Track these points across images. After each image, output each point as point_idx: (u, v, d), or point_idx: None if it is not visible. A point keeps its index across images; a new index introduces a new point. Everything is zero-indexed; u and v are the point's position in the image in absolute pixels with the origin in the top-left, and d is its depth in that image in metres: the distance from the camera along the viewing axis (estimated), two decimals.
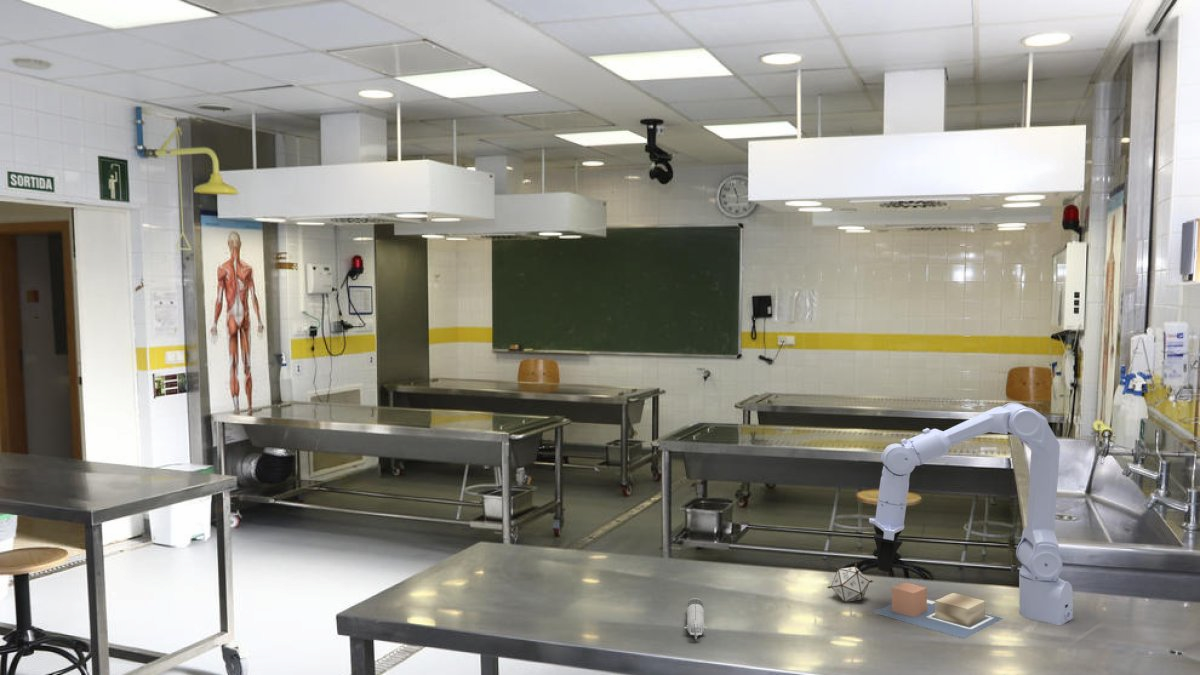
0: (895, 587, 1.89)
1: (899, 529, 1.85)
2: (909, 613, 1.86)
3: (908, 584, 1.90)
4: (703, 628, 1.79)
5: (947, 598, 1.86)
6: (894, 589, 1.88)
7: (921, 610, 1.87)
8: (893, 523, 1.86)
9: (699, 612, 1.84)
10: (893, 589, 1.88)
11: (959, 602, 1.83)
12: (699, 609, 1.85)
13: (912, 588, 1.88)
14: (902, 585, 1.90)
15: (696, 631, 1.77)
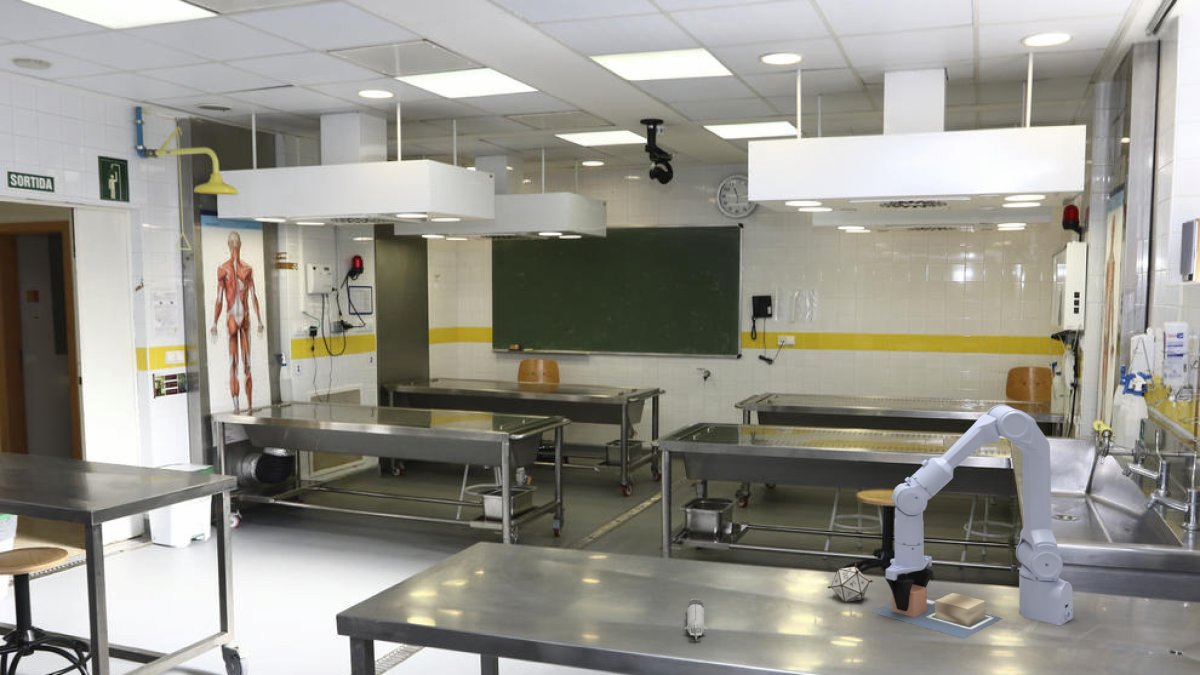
0: None
1: (909, 570, 1.84)
2: (909, 613, 1.86)
3: None
4: (703, 628, 1.79)
5: (947, 598, 1.86)
6: None
7: (921, 610, 1.87)
8: (904, 563, 1.86)
9: (699, 612, 1.84)
10: None
11: (959, 602, 1.83)
12: (699, 609, 1.85)
13: (912, 588, 1.88)
14: None
15: (696, 631, 1.77)
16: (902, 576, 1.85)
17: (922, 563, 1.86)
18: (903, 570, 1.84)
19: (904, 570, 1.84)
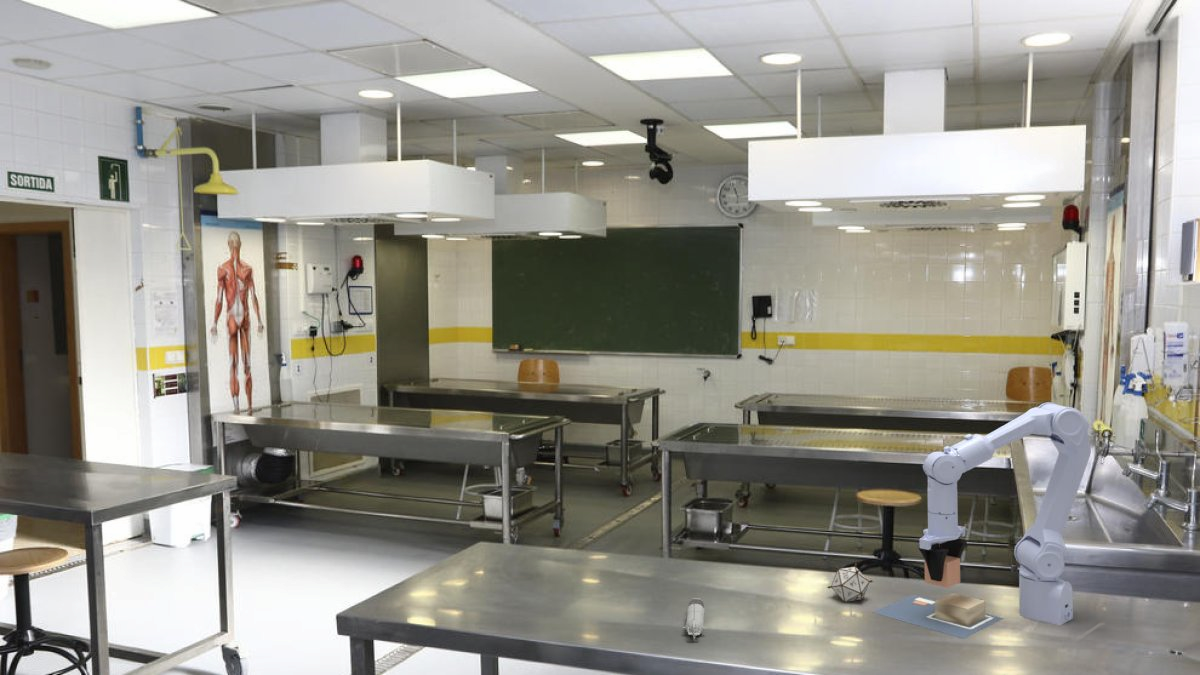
0: None
1: (943, 539, 1.81)
2: (943, 584, 1.83)
3: None
4: (702, 628, 1.79)
5: (947, 598, 1.86)
6: None
7: (955, 581, 1.84)
8: (938, 532, 1.83)
9: (699, 612, 1.84)
10: None
11: (959, 602, 1.83)
12: (699, 609, 1.85)
13: (945, 559, 1.85)
14: None
15: (694, 631, 1.77)
16: (936, 546, 1.82)
17: (956, 532, 1.83)
18: (937, 539, 1.81)
19: (938, 539, 1.81)
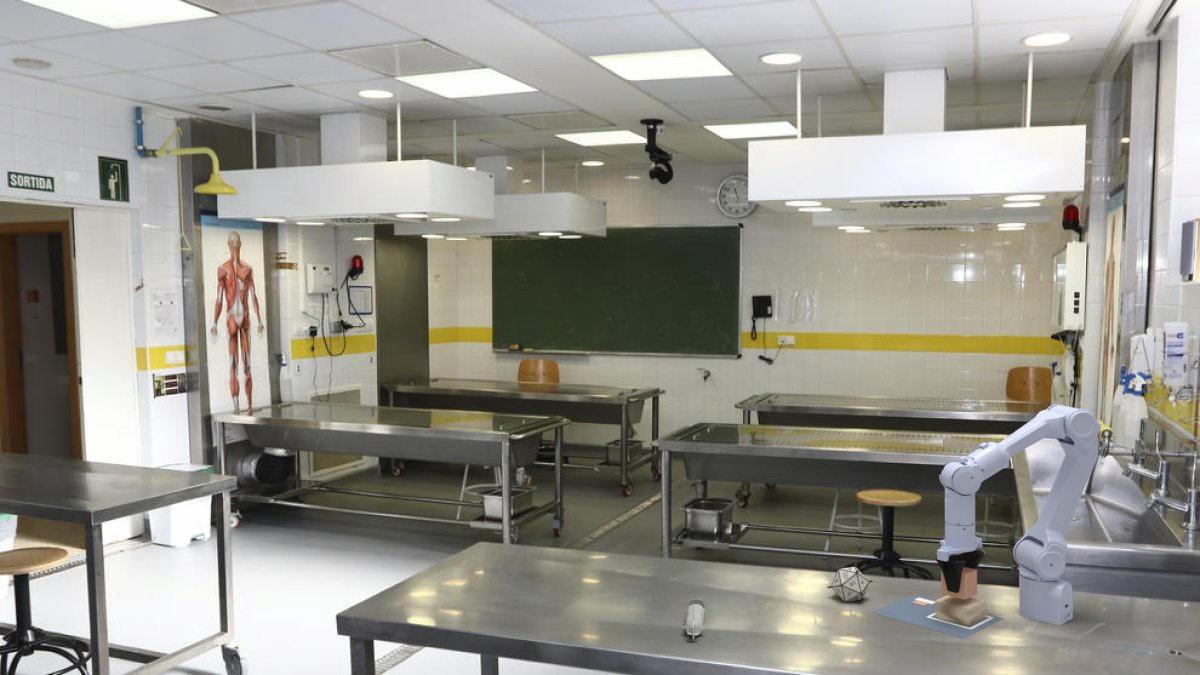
0: None
1: (961, 550, 1.80)
2: (960, 595, 1.81)
3: None
4: (701, 628, 1.79)
5: (947, 598, 1.86)
6: None
7: (972, 592, 1.82)
8: (956, 544, 1.81)
9: (698, 612, 1.84)
10: None
11: (959, 602, 1.83)
12: (699, 609, 1.85)
13: None
14: None
15: (693, 631, 1.77)
16: (954, 557, 1.80)
17: (974, 544, 1.82)
18: (955, 551, 1.79)
19: (956, 551, 1.79)
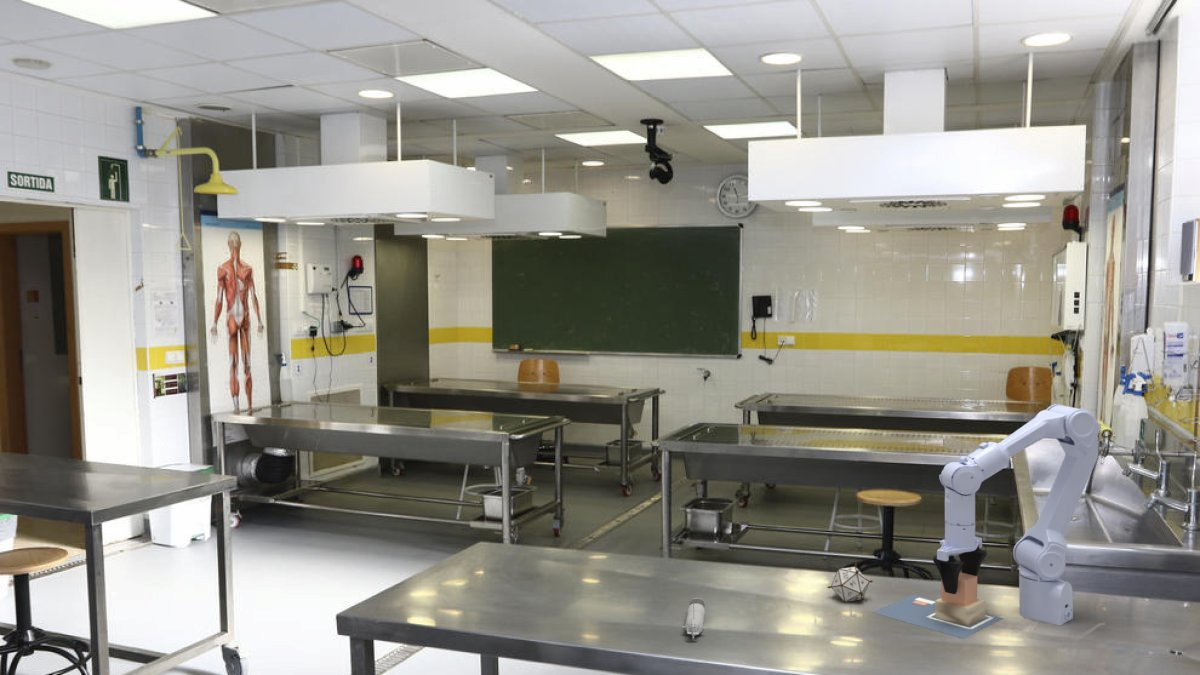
0: None
1: (960, 550, 1.80)
2: (960, 602, 1.81)
3: None
4: (701, 628, 1.79)
5: None
6: None
7: (972, 599, 1.83)
8: (956, 544, 1.81)
9: (699, 612, 1.84)
10: None
11: None
12: (699, 609, 1.85)
13: (963, 577, 1.83)
14: None
15: (693, 630, 1.77)
16: None
17: (974, 544, 1.82)
18: (955, 551, 1.79)
19: (956, 551, 1.79)
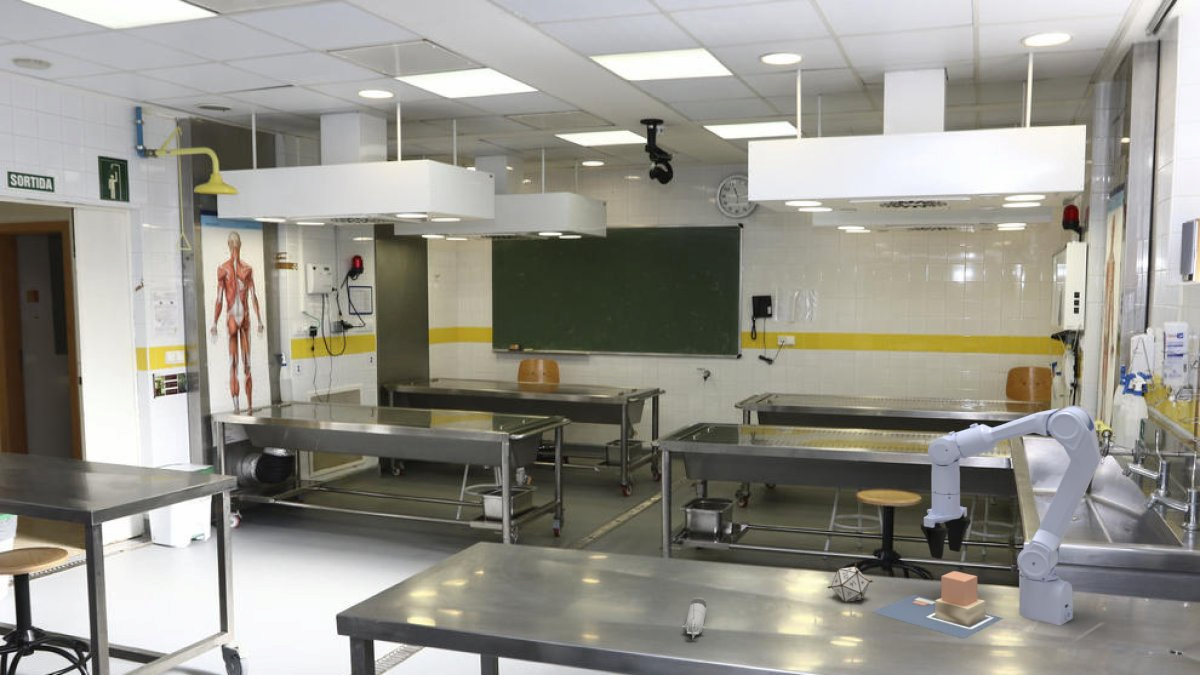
0: (945, 576, 1.84)
1: (946, 518, 1.92)
2: (960, 602, 1.81)
3: (957, 573, 1.86)
4: (701, 627, 1.79)
5: None
6: (944, 578, 1.84)
7: (972, 599, 1.83)
8: (942, 512, 1.93)
9: (699, 611, 1.84)
10: (942, 577, 1.84)
11: None
12: (700, 608, 1.85)
13: (963, 577, 1.83)
14: (951, 574, 1.85)
15: (693, 630, 1.78)
16: (939, 524, 1.92)
17: (958, 512, 1.93)
18: (941, 518, 1.91)
19: (942, 518, 1.91)
